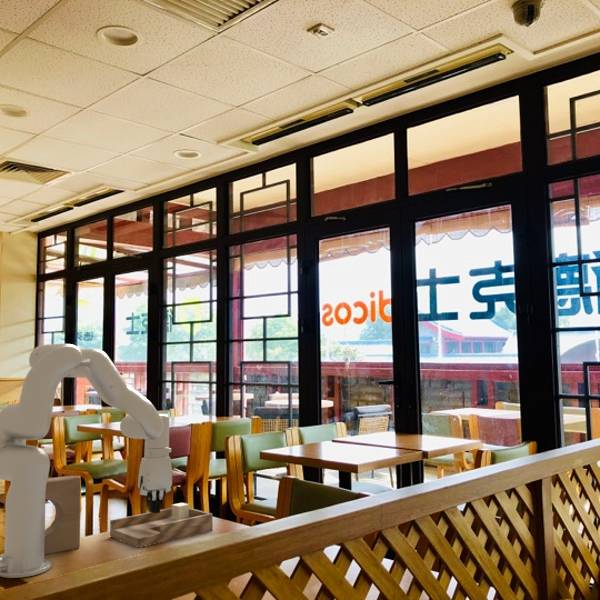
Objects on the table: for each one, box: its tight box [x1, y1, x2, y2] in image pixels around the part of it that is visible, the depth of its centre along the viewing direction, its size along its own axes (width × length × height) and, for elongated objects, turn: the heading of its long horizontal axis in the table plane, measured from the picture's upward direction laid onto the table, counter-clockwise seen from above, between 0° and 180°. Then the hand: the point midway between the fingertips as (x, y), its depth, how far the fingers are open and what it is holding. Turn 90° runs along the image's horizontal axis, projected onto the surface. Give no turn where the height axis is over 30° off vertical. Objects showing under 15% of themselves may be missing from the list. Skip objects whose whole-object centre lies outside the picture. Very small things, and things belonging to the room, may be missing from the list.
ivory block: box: [171, 502, 190, 519], centre depth 212 cm, size 4×4×4 cm
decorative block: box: [44, 474, 82, 556], centre depth 186 cm, size 11×6×20 cm, turn 128°
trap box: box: [109, 507, 214, 548], centre depth 201 cm, size 26×17×5 cm, turn 135°
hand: (155, 512), depth 204 cm, fingers closed
